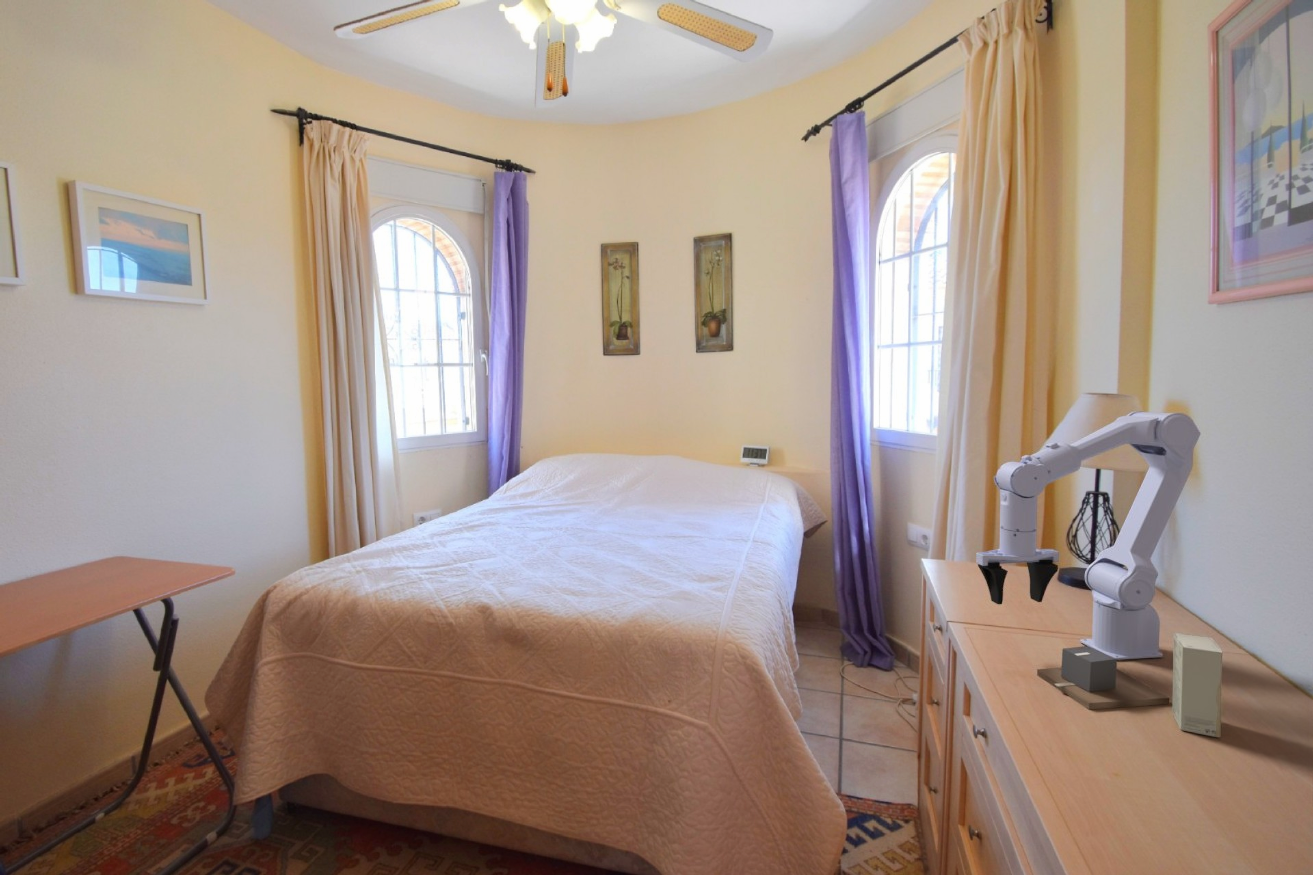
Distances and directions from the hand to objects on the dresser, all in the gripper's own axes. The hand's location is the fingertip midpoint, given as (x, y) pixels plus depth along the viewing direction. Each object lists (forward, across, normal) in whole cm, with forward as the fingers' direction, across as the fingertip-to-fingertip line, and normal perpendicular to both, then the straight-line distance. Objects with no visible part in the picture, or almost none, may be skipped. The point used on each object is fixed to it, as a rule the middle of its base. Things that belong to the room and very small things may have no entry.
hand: (1016, 601), depth 109 cm
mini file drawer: (+8, -2, +14) cm, 17 cm away
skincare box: (+10, -9, +25) cm, 29 cm away
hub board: (+9, -4, +14) cm, 18 cm away
